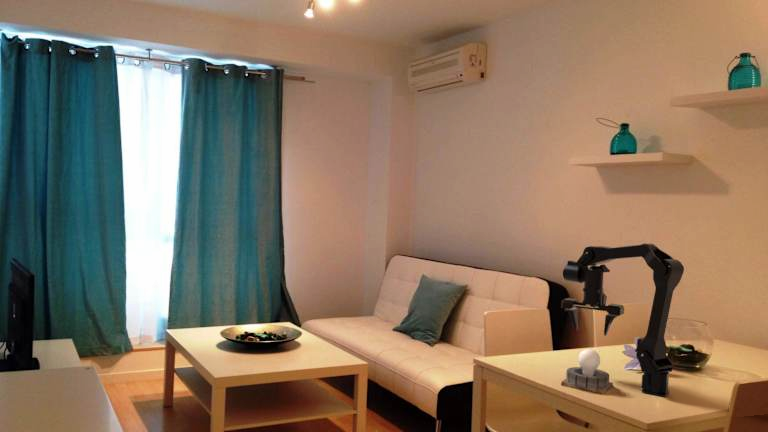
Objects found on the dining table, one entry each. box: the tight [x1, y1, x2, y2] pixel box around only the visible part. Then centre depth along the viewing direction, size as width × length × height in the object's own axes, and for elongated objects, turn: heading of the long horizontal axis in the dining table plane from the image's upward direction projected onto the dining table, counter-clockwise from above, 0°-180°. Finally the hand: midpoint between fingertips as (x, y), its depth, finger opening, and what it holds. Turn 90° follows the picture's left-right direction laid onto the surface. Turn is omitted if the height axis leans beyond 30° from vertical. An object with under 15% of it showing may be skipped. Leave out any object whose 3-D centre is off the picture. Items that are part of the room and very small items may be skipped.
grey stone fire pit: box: [560, 366, 614, 394], centre depth 199 cm, size 12×12×4 cm
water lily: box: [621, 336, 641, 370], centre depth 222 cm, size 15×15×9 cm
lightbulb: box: [577, 348, 601, 376], centre depth 199 cm, size 6×6×11 cm
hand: (590, 333), depth 213 cm, fingers open, 9 cm apart
